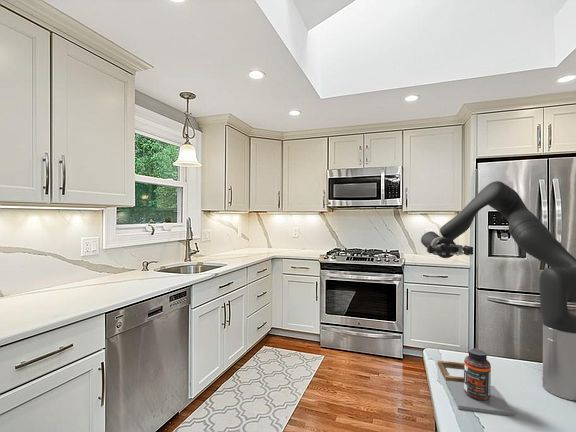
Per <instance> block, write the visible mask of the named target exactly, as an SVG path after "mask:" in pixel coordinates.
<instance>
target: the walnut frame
mask: <svg viewBox="0 0 576 432" xmlns="http://www.w3.org/2000/svg"><path fill="white" fill-rule="evenodd" d="M436 363H437V366H438V369H439V370H440V372H441V375H442V376H443V378H444V382H446V381H454V382H463V383H464V376H456V375H455V376H454V375H449V374H448V372H447V369H446V368H447V367H449V368H458V369H464V362H455V361H446V360H437V362H436ZM445 367H446V368H445Z"/></svg>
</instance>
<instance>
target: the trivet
mask: <svg viewBox="0 0 576 432" xmlns="http://www.w3.org/2000/svg"><path fill="white" fill-rule="evenodd" d="M445 385H446V388H447V389H448V391H449V392H450V395H451V397H452V398H453V399H452V400H453V401H454V404H455V405H456V407H457V409H459V410H464V411H465V410H466V411H473V412H480V413H487V414H494V415H495V414H496V415H503V416H509V417H510V416H511V417H515V412H514V411H513V409H512V408H511V406H509V404H508V403H507V402H506V400H505V399H504V397H503V396H502V395H501V394H500V392H499V391H498V389H497V388H496V387H495V386H494V385H491V386H490V398H489V399H488V400H477V399H474V398H471V397H470V396H468V395H467V394H466V393H465V392H464V383H463V382H454V381H445Z"/></svg>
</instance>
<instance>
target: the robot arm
mask: <svg viewBox="0 0 576 432" xmlns="http://www.w3.org/2000/svg"><path fill="white" fill-rule="evenodd" d="M487 206H489V207H490V208H492V209H494V210H495V211H497V212H498V213H500V214H501V216H503V217H504V219H505V220H506V221H507V222H508V232H509V234H510V236H511V238H512V239H513V240H514V242H515V243H516V245H517V246H518V248H520V250H522V251H523V252H525V253H526V254H528V255H529V256H531V257H532V258H535V259H536V260H538V261H540V262H542V263H544V264H546V265H547V267H545V268H544V269H543V270H541V271H542V272H541V273H540V276H539V280H538V281H539V283H538V285H539V300H540V301H539V302H540V304H539V305H540V313H541V315H542V378H541V379H542V387H543V388H544V390H546V391H547V392H548V393H551V394H553V396H554V395H555V396H556V397H560V398H562V399H566V400H571V401H576V314H573V313H571V312H570V311H569V309H568V303H569V304H570V303H571V304H572V303H573V304H576V257H574V256H573V255H572V254H571V253H570V252H569V251H568V250H567V249H566V248H565V247H564V246H563V245H562V243H560V241H558V240H557V238H555V236H554V235H553V234H552V233H551V231H550V230H549V229H548V228H547V227H546V226H545V223H543V222H542V221H541V220H540V219H539V218H538V217H537V216H536V215H535V214H534V213H533V212H532V211H530V210H529V209H528V207H527V206H526V204H525V203H524V201H523V199H522V198H521V196H520V195H519V193H518V192H517V191H516V190H515V189H513V188H512V187H510V186H509V185H507V184H506V183H504V182H502V181H500V180H495V181H492V182H491V183H489V184H488V185H486V186H485V187H484V188H482V189H481V190H480V191H479V192H478V193H477V194H476V195H475V196H474V197H473V198H472V199H471V201H469V202H468V204H466V206H464V208H463V209H461V211H460V212H459V213H458V214H457V215H455V216H454V217H453V218H451V219H450V220H449V221H447V222H446V223H445V224H444V225H442V226H441V227H440V228H439V233H440V234H441V235H439V234H438V233H437V232H435V231H427V232H425V233H424V234H423V235H421V237H420V238H421V239H420V242H421V244H422V246H424V247H425V248H426V252H427V253H428V254H429V255H430V254H432V255H434V256H438V257H440V258H442V259H449V258H452V257H454V255H455V256H463V255H465V256H470V255H471V256H472V255H474V247H473V246H470V245H462V244H456V242H455V241H454V240H455V239H457V238H458V237H461V235H463V234H464V233H466V232H467V231H468V230H469V229H470V227H471V226H472V224H473V221H474V219H475V217H476V216H477V214H478V213H479V211H480V210H482V209H483V208H485V207H487ZM548 266H549V267H548Z"/></svg>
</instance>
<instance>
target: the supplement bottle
mask: <svg viewBox="0 0 576 432" xmlns="http://www.w3.org/2000/svg"><path fill="white" fill-rule="evenodd" d="M487 356H488V355H487V352H486V351H484V350H483V349H479V348H469V349H468V355H467V356H466V357H465V358H464V362H463V363H464V368H463V372H464V373H463V377H464V392H465V393H466V394H467V395H468V396H470V397H471V398H474V399H477V400H488V399H489V398H490V386H492V385H491V380H492V379H491V378H492V377H491V376H492V375H491V373H492V372H491V371H492V370H491V369H492V364H491V363H490V361H489V360H488V359H487V358H488V357H487Z"/></svg>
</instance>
